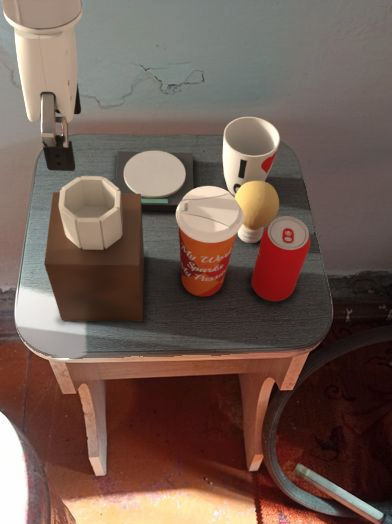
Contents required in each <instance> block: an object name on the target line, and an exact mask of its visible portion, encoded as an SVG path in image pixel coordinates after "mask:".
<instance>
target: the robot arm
mask: <svg viewBox="0 0 392 524" xmlns="http://www.w3.org/2000/svg"><path fill="white" fill-rule="evenodd" d="M0 2H1V6H2V11H3V16H4V18H5V20H6V21H7V22H8V24H9V25H10V26H11V27H12V28H13V29H14V42H15V51H16V58H17V59H16V60H17V67H18V72H19V77H20V84H21V89H22V94H23V100H24V105H25V111H26V115H27V118H28V120H29V122H31V123H39V121H40V131H41V145H42V149H43V155H44V158H45V159H44V160H45V163H46V168H47V170H49V171H56V172H75V170H76V160H75V155H74V154H75V153H74V148H73V142H72V140H69V137H70V136H69V123H71V122H72V121H73V120H74V115H80V114H81V113H82V105H81V97H80V89H79V83H78V81H79V80H78V79H79V59H78V58H79V57H78V47H77V38H76V30H75V26H77V24H78V23H79V22H80V21H81V19H82V17H83V13H84V11H83V9H84V8H83V0H0ZM56 114H57V115H58V114H59V115H60V114H61V116H56ZM56 123H57V124H61V135H60V134H57V128H56Z"/></svg>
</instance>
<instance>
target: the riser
mask: <svg viewBox="0 0 392 524" xmlns="http://www.w3.org/2000/svg"><path fill="white" fill-rule="evenodd" d="M59 199H60V191H59V192H58V191H53V192H52V194H51V204H50V212H49V220H48V230H47V238H46V247H45V252H44V253H45V255H44V262H43V264H44V267H45V271H46V274H47V277H48V281H49V284H50V287H51V290H52V293H53V296H54V299H55V303H56V307H57V309H58V312H59V316H60V320H61V321H64V322H65V321H73V322H74V321H75V322H76V321H77V322H78V321H82V322H85V321H86V322H87V321H90V322H93V321H94V322H95V321H97V322H99V321H100V322H101V321H102V322H104V321H105V322H113V321H114V322H143V321H144V283H145V281H144V279H145V278H144V276H145V272H144V271H145V250H144V248H145V247H144V229H143V227H144V225H143V224H144V223H143V211H142V202H141V194H124V193H121V201H122V212H123V235H122V236H121V238H120V239H119V240H117V241H116V242H115V243H113V244H112V245H111V246H109V247H108V248H107V249H105V248H104V249H103V250H83V249H82V248H79V247H78V246H76V245H75V244H74V243H73V242H72V241H71V240H69V239H68V238H67V237H66V235H65V231H64V227H63V223H62V218H61V214H60V210H59Z"/></svg>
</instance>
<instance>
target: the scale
mask: <svg viewBox="0 0 392 524" xmlns="http://www.w3.org/2000/svg"><path fill="white" fill-rule="evenodd" d="M116 152H117V153H116V169H115V170H116V173H115V186H116V187H118V188H119V190H120V191H121V193H124V194H141V202H142V212H170V213H171V212H173V213H174V212H175V213H176V210H177V207H178V205H179V203H180V202H181V201H182V199H183V198H184V196H185V195H186V194H187V193H188V192H190V191H191V190H193V189H195V188H194V187H195V186H194V160H193V152H173V151H172V152H168V151H167V152H166V151H164V150H163V151H162V150H146V151H128V150H126V151H125V150H124V151H123V150H117V151H116Z"/></svg>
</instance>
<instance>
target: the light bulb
mask: <svg viewBox="0 0 392 524" xmlns="http://www.w3.org/2000/svg"><path fill="white" fill-rule="evenodd" d="M234 198H235V199H236V201H237V203H238V204H239V206H240V207H241V209H242V210H243V214H244V222H243V224H242V226H241V227H240V229H239V231H238V232H237V236H238V238H239V239H240V240H241V241H242V242H244V243H247V244H255V243H258V242H259V241H261V238H262V234H263V232H264V230H265V226H268V225H270V223H271V222H272V221H273V220H274V219H276V216H277V214H278V212H279V209H280V199H279V195H278V193H277V191H276V189H275V187H274V186H273V185H272V184H271V183H269V182H266V181H265V182H263V181H250V182H247V183H245V184H243V185H242V186H241V187H240V188H239V189H238V191H237V193H236V195H235V196H234Z"/></svg>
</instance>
